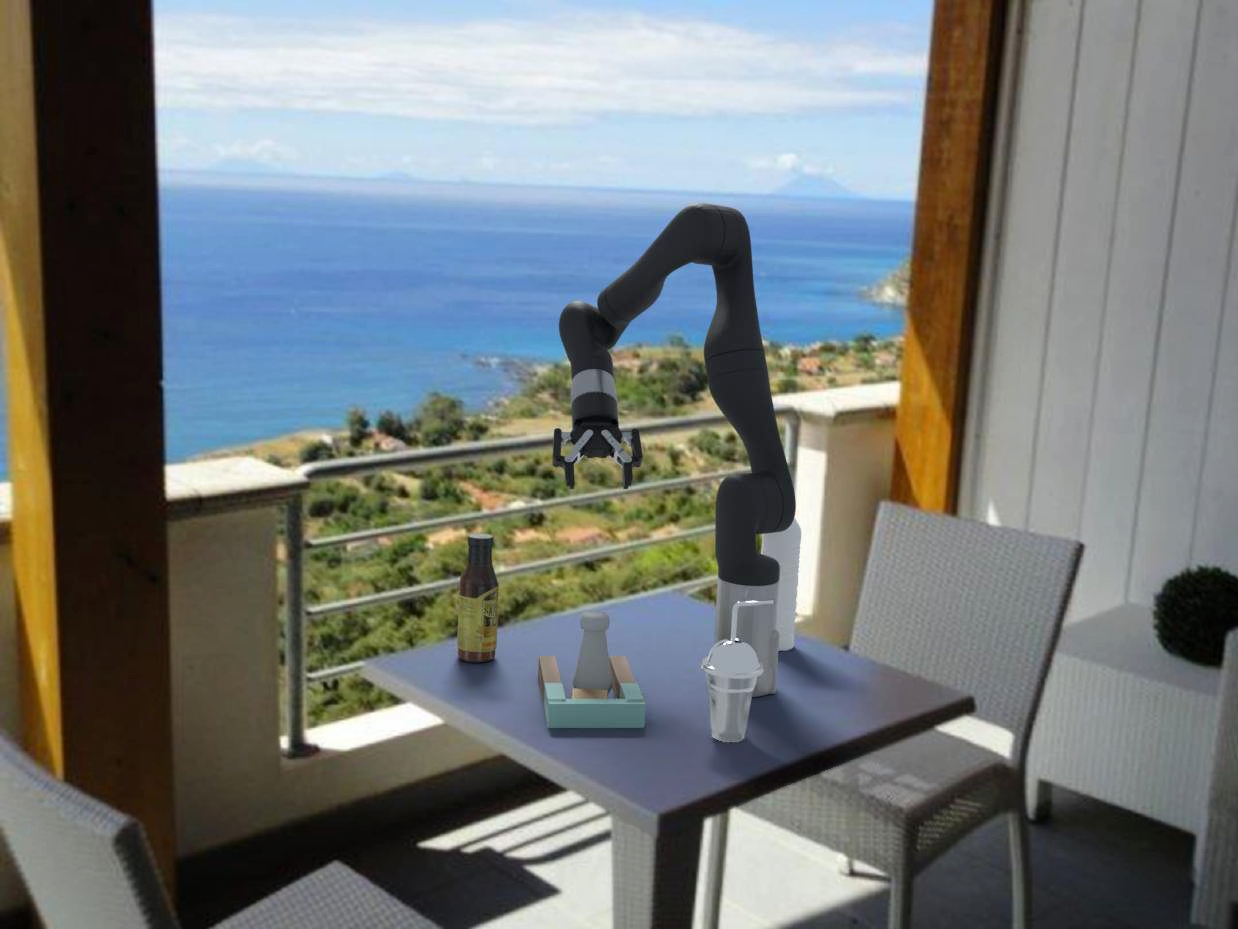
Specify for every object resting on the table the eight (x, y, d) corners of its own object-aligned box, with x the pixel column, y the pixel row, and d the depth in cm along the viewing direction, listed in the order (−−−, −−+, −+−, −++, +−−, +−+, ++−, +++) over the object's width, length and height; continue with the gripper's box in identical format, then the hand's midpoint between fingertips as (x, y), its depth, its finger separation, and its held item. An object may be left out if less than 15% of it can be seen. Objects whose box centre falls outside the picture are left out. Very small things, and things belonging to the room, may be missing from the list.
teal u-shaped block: (636, 706, 189) (637, 683, 189) (644, 728, 181) (645, 703, 180) (543, 706, 188) (544, 683, 187) (547, 728, 179) (548, 703, 179)
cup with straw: (720, 721, 185) (728, 584, 182) (774, 738, 179) (783, 597, 176) (684, 736, 179) (692, 594, 175) (739, 755, 173) (748, 608, 170)
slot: (624, 674, 203) (625, 656, 203) (636, 706, 189) (637, 686, 189) (538, 674, 201) (538, 655, 201) (543, 706, 188) (544, 686, 187)
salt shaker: (618, 697, 193) (622, 612, 191) (598, 708, 188) (602, 621, 186) (585, 689, 196) (589, 605, 194) (564, 699, 191) (567, 613, 189)
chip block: (606, 709, 188) (607, 690, 188) (606, 722, 183) (606, 702, 183) (572, 708, 188) (572, 688, 188) (570, 720, 183) (571, 700, 183)
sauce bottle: (489, 666, 204) (493, 542, 201) (451, 662, 205) (454, 538, 202) (501, 653, 211) (505, 533, 207) (464, 649, 212) (467, 530, 208)
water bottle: (754, 639, 225) (763, 496, 220) (792, 641, 224) (802, 498, 220) (756, 654, 216) (766, 506, 212) (796, 657, 216) (806, 508, 211)
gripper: (635, 417, 218) (641, 499, 209) (549, 417, 216) (552, 499, 207) (639, 390, 211) (646, 473, 202) (551, 389, 210) (555, 473, 201)
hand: (599, 486), depth 205 cm, fingers open, 8 cm apart
